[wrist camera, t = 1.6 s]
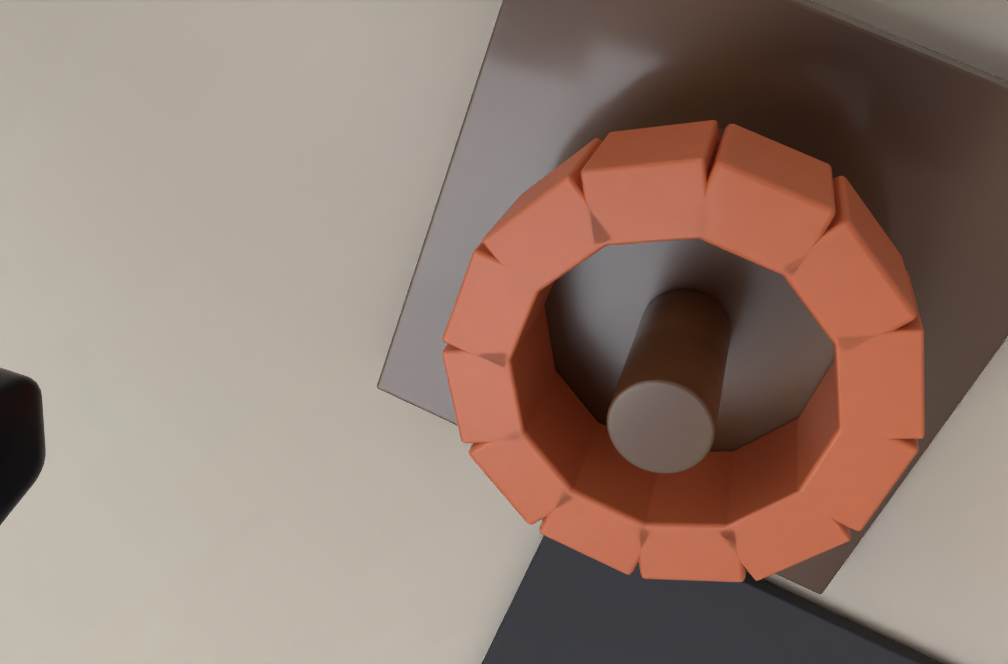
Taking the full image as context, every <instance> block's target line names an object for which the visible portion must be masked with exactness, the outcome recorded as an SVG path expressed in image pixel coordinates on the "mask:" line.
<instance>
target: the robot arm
mask: <svg viewBox="0 0 1008 664" xmlns="http://www.w3.org/2000/svg"><path fill="white" fill-rule="evenodd" d="M45 451H46V450H45V435H44V421H43V406H42V394H41V390H40V388H39V386H38V384H37V383H36V382H35V381H34V380H33V379H31V378H29V377H27V376H24V375H21V374H18V373H15V372H12V371H9V370H6V369H3V368H0V525H1V523H2V522H3V521H4V520H5V518H6V517H7V516H8V515H9V513H10V512H11V511H12V510H13V509H14V507H15V506H16V505H17V504H18V502H19V501H20V500H21V499H22V497H23V496H24V495H25V494H26V492H27V491H28V490H29V489H30V487H31V486H32V485H33V484H34V482H35V481H36V479H37V478H38V476H39V474H40V472H41V470H42V467H43V465H44V460H45Z"/></svg>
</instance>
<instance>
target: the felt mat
mask: <svg viewBox="0 0 1008 664" xmlns="http://www.w3.org/2000/svg"><path fill="white" fill-rule="evenodd" d="M482 664H941V663H939V662H936V661H934V660H932V659H930V658H928V657H926V656H924V655H921V654H919V653H917V652H915V651H913V650H911V649H909V648H907V647H904V646H902V645H900V644H898V643H896V642H894V641H892V640H889V639H887V638H885V637H883V636H881V635H879V634H877V633H874V632H872V631H870V630H868V629H866V628H864V627H862V626H859V625H857V624H855V623H853V622H851V621H849V620H847V619H844V618H842V617H840V616H838V615H836V614H834V613H832V612H829V611H827V610H825V609H823V608H821V607H819V606H817V605H815V604H812V603H810V602H808V601H806V600H804V599H802V598H800V597H797V596H795V595H793V594H791V593H789V592H787V591H785V590H782V589H780V588H778V587H776V586H774V585H772V584H770V583H767V582H765V581H763V580H758V581H756V580H755V579H754V578H753V577H752V575H750V574H748V573H746V577H745V579H744V581H743V582H719V581H692V580H664V579H645V578H642V576H641V573H640V567H639V562H638V564H637V566H636V567H635V569H634V571H633V572H632V573H631V574H630V575H628V574H625V573H623V572H621V571H618V570H616V569H614V568H612V567H610V566H608V565H606V564H604V563H602V562H599V561H597V560H595V559H593V558H591V557H589V556H587V555H585V554H583V553H580V552H578V551H576V550H574V549H572V548H570V547H568V546H566V545H563V544H561V543H559V542H557V541H555V540H553V539H551V538H549V537H547V536H544V537H543V539H542V541H541V543H540V545H539V547H538V549H537V551H536V553H535V555H534V557H533V559H532V561H531V564H530V566H529V568H528V570H527V572H526V574H525V576H524V578H523V580H522V582H521V584H520V586H519V588H518V590H517V592H516V594H515V596H514V598H513V601H512V603H511V605H510V607H509V609H508V611H507V613H506V615H505V617H504V619H503V621H502V623H501V625H500V627H499V629H498V631H497V633H496V635H495V638H494V640H493V642H492V644H491V646H490V648H489V650H488V652H487V654H486V656H485V658H484V660H483V662H482Z"/></svg>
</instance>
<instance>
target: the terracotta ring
mask: <svg viewBox="0 0 1008 664" xmlns="http://www.w3.org/2000/svg"><path fill="white" fill-rule="evenodd" d="M697 238H699V239H701V240H703V241H705V242H708V243H710V244H712V245H715V246H717V247H719V248H721V249H724V250H726V251H728V252H731V253H733V254H735V255H737V256H740V257H742V258H744V259H747V260H749V261H751V262H753V263H756V264H758V265H760V266H763V267H765V268H767V269H769V270H772V271H774V272H776V273H779V274H781V275H783V276H784V278H785V279H786V280H787V282H788V283H789V284H790V286H791V287H792V288H793V290H794V291H795V292H796V294H797V295H798V297H799V298H800V299H801V301H802V302H803V303H804V305H805V306H806V307H807V309H808V310H809V311H810V313H811V314H812V315H813V317H814V318H815V319H816V321H817V322H818V323H819V325H820V326H821V327H822V329H823V330H824V331H825V333H826V334H827V335H828V337H829V338H830V340H831V341H832V342H833V344H834V361H833V363H832V365H831V366H830V368H829V369H828V371H827V373H826V374H825V376H824V377H823V379H822V381H821V382H820V384H819V385H818V387H817V389H816V390H815V392H814V394H813V395H812V397H811V398H810V400H809V402H808V403H807V405H806V406H805V408H804V410H803V411H802V413H801V415H800V416H799V418H797V419H795V420H793V421H791V422H789V423H787V424H786V425H784V426H782V427H780V428H778V429H776V430H774V431H772V432H770V433H768V434H766V435H764V436H762V437H760V438H758V439H756V440H754V441H753V442H751V443H749V444H747V445H745V446H743V447H741V448H739V449H737V450H735V451H720V452H708V454H707V455H706V456H705V457H704V458H703V460H701V461H700V462H699V463H698V464H696V465H694V466H693V467H691V468H689V469H687V470H684V471H680V472H676V473H655V472H650V471H647V470H644V469H641V468H639V467H637V466H635V465H633V464H632V463H630V462H629V461H627V460H626V459H625V458H624V457H623V456H622V455H621V454H620V453H619V452H618V451H617V450H616V448H615V447H614V445H613V443H612V441H611V439H610V437H609V434H608V430H607V426H606V425H603V424H601V423H599V422H597V420H596V419H595V418H594V417H593V416H592V414H591V413H590V412H589V411H588V409H587V408H586V407H585V406H584V404H583V403H582V402H581V401H580V400H579V398H578V397H577V396H576V395H575V393H574V392H573V391H572V390H571V389H570V387H569V386H568V385H567V384H566V382H565V381H564V380H563V379H562V377H561V376H560V375H559V374H558V373H557V371H556V370H555V364H554V358H553V353H552V347H551V341H550V335H549V329H548V324H547V318H546V312H545V306H544V304H545V302H546V300H547V297H548V295H549V292H550V290H551V288H552V285H553V283H554V281H555V280H557V279H558V278H560V277H561V276H563V275H564V274H566V273H567V272H569V271H570V270H571V269H573V268H574V267H576V266H577V265H579V264H580V263H582V262H583V261H585V260H586V259H587V258H589V257H590V256H592V255H593V254H595V253H596V252H598V251H599V250H601V249H602V248H603V247H605V246H607V245H620V244H633V243H645V242H658V241H671V240H684V239H697ZM443 342H445V343H447V345H446V347H445V348H444V349H443V351H442V356H443V361H444V365H445V370H446V374H447V379H448V383H449V388H450V392H451V397H452V401H453V406H454V410H455V414H456V419H457V423H458V428H459V432H460V437H461V441H462V442H463V443H473V444H472V446H471V448H470V450H469V454H470V456H471V457H472V459H473V460H474V461H475V462H476V463H477V464H478V466H479V467H480V468H481V469H482V470H483V471H484V473H485V474H486V475H487V476H488V477H489V478H490V480H491V481H492V482H493V483H494V484H495V486H496V487H497V488H498V489H499V490H500V491H501V493H502V494H503V495H504V496H505V497H506V498H507V500H508V501H509V502H510V503H511V504H512V505H513V507H514V508H515V509H516V510H517V511H518V512H519V514H520V515H521V516H522V517H523V518H524V519H525V521H526V522H527V523H529V524H534V523H536V522H537V521H539V520H541V519H543V518H544V519H543V521H542V524H541V526H540V533H541V534H542V535H544V536H547V537H549V538H551V539H553V540H555V541H557V542H559V543H561V544H563V545H566V546H568V547H570V548H572V549H574V550H576V551H578V552H580V553H583V554H585V555H587V556H589V557H591V558H593V559H595V560H597V561H599V562H602V563H604V564H606V565H608V566H610V567H612V568H614V569H616V570H618V571H621V572H623V573H625V574H628V575H630V574H631V573H632V572H633V571H634V569H635V567H636V566H637V564H638V562H639V567H640V573H641V576H642V578H645V579H664V580H692V581H719V582H743V581H744V579H745V577H746V569H747V571H748V572H749V573H750V574H751V575H752V577H753V578H754V579H755V580H756V581H758V580H761V579H763V578H765V577H768V576H770V575H772V574H775V573H777V572H779V571H781V570H784V569H786V568H788V567H791V566H793V565H795V564H798V563H800V562H802V561H805V560H807V559H809V558H811V557H814V556H816V555H818V554H821V553H823V552H825V551H828V550H830V549H832V548H835V547H837V546H839V545H841V544H844V543H846V542H848V541H850V540H851V532H850V528H852V529H854V530H856V531H861V530H862V529H863V528H864V526H865V525H866V523H867V522H868V521H869V519H870V518H871V516H872V515H873V514H874V512H875V511H876V510H877V508H878V507H879V505H880V504H881V503H882V501H883V500H884V498H885V497H886V496H887V494H888V493H889V491H890V490H891V489H892V487H893V486H894V484H895V483H896V482H897V480H898V479H899V477H900V476H901V475H902V473H903V472H904V470H905V469H906V468H907V466H908V465H909V464H910V462H911V461H912V459H913V458H914V457H915V455H916V454H917V452H918V450H919V446H918V441H917V439H922V438H924V435H925V419H924V330H923V326H922V323H921V319H920V315H919V311H918V307H917V304H916V300H915V296H914V292H913V288H912V285H911V281H910V277H909V273H908V271H906V270H905V266H904V262H903V258H902V256H901V254H900V253H899V252H898V250H897V249H896V247H895V246H894V245H893V243H892V242H891V240H890V239H889V237H888V236H887V235H886V233H885V232H884V230H883V229H882V228H881V226H880V225H879V223H878V222H877V221H876V219H875V218H874V216H873V215H872V214H871V212H870V211H869V209H868V208H867V207H866V205H865V204H864V202H863V201H862V200H861V198H860V197H859V195H858V194H857V193H856V191H855V190H854V188H853V187H852V186H851V184H850V183H849V181H848V180H847V179H846V178H845V177H843V176H838V177H836V178H834V179H833V178H832V168H831V166H830V165H829V164H827V163H825V162H823V161H820V160H818V159H816V158H813V157H811V156H809V155H806V154H804V153H801V152H799V151H797V150H794V149H792V148H790V147H787V146H785V145H783V144H780V143H778V142H776V141H773V140H771V139H768V138H766V137H764V136H761V135H759V134H757V133H754V132H752V131H750V130H747V129H745V128H743V127H740V126H738V125H735V124H729V125H728V126H727V127H726V128H725V130H724V132H723V134H722V136H721V138H720V141H719V130H718V123H717V121H715V120H709V121H701V122H692V123H684V124H675V125H666V126H658V127H649V128H641V129H632V130H624V131H615V132H610V133H609V134H608V135H607V137H606V138H605V139H604V141H603V142H602V141H601V140H600V139H599V138H595V139H594V140H592V141H591V142H590V143H588V144H587V145H586V146H584V147H583V148H582V149H581V150H579V151H578V152H577V153H575V154H574V155H573V156H571V157H570V158H569V159H567V160H566V161H565V162H563V163H562V164H561V165H559V166H558V167H557V168H555V169H554V170H553V171H552V172H550V173H549V174H548V175H546V176H545V177H544V178H542V179H541V180H540V181H538V182H537V183H536V184H534V185H533V186H532V187H530V188H529V189H528V190H527V191H525V192H524V193H523V194H521V195H520V197H519V198H518V199H517V200H516V201H515V202H514V203H513V205H512V206H511V207H510V208H509V209H508V210H507V211H506V213H505V214H504V215H503V216H502V217H501V218H500V219H499V221H498V222H497V223H496V224H495V225H494V226H493V227H492V229H491V230H490V231H489V232H488V233H487V234H486V235H485V237H484V238H483V240H482V242H481V243H480V244H479V246H478V247H477V248H476V249H475V250H474V251H473V254H472V257H471V260H470V262H469V265H468V268H467V271H466V273H465V276H464V279H463V282H462V285H461V287H460V290H459V293H458V296H457V299H456V301H455V304H454V307H453V310H452V312H451V315H450V318H449V321H448V324H447V326H446V329H445V332H444V335H443Z"/></svg>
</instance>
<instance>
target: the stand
mask: <svg viewBox="0 0 1008 664" xmlns="http://www.w3.org/2000/svg"><path fill="white" fill-rule="evenodd" d="M709 120H715V121H717V123H718V130H719V141H720V138H721V136H722V134H723V132H724V130H725V128H726V127H727V126H728V125H729V124H735V125H738V126H740V127H743V128H745V129H747V130H750V131H752V132H754V133H757V134H759V135H761V136H764V137H766V138H768V139H771V140H773V141H776V142H778V143H780V144H783V145H785V146H787V147H790V148H792V149H794V150H797V151H799V152H801V153H804V154H806V155H809V156H811V157H813V158H816V159H818V160H820V161H823V162H825V163H827V164H829V165H830V166H831V168H832V178H833V179H834V178H836V177H838V176H843V177H845V178H846V179H847V180H848V181H849V183H850V184H851V186H852V187H853V188H854V190H855V191H856V193H857V194H858V195H859V197H860V198H861V200H862V201H863V202H864V204H865V205H866V207H867V208H868V209H869V211H870V212H871V214H872V215H873V216H874V218H875V219H876V221H877V222H878V223H879V225H880V226H881V228H882V229H883V230H884V232H885V233H886V235H887V236H888V237H889V239H890V240H891V242H892V243H893V245H894V246H895V247H896V249H897V250H898V252H899V253H900V254H901V256H902V258H903V262H904V266H905V270H906V271H908V273H909V277H910V281H911V285H912V288H913V292H914V296H915V300H916V304H917V307H918V311H919V315H920V319H921V323H922V326H923V330H924V419H925V435H924V438H922V439H917V441H918V446H919V450H918V452H917V454H916V455H915V457H914V458H913V459H912V461H911V462H910V464H909V465H908V466H907V468H906V469H905V470H904V472H903V473H902V475H901V476H900V477H899V479H898V480H897V482H896V483H895V484H894V486H893V487H892V489H891V490H890V491H889V493H888V494H887V496H886V497H885V498H884V500H883V501H882V503H881V504H880V505H879V507H878V508H877V510H876V511H875V512H874V514H873V515H872V516H871V518H870V519H869V521H868V522H867V523H866V525H865V526H864V528H863V529H862V530H861V531H856V530H854V529H852V528H850V532H851V540H850V541H848V542H846V543H844V544H841V545H839V546H837V547H835V548H832V549H830V550H828V551H825V552H823V553H821V554H818V555H816V556H814V557H811V558H809V559H807V560H805V561H802V562H800V563H798V564H795V565H793V566H791V567H788V568H786V569H784V570H781V571H779V572H777V573H775V574H777V575H780V576H782V577H784V578H786V579H788V580H790V581H792V582H795V583H797V584H799V585H801V586H803V587H805V588H807V589H810V590H812V591H814V592H816V593H818V594H822V593H823V591H824V590H825V589H826V587H827V586H828V584H829V583H830V582H831V580H832V579H833V577H834V576H835V575H836V573H837V572H838V571H839V569H840V568H841V566H842V565H843V564H844V562H845V561H846V559H847V558H848V557H849V555H850V554H851V553H852V551H853V550H854V548H855V547H856V546H857V544H858V543H859V541H860V540H861V539H862V537H863V536H864V535H865V533H866V532H867V530H868V529H869V528H870V526H871V525H872V523H873V522H874V521H875V519H876V518H877V517H878V515H879V514H880V512H881V511H882V510H883V508H884V507H885V505H886V504H887V503H888V501H889V500H890V498H891V497H892V496H893V494H894V493H895V492H896V490H897V489H898V487H899V486H900V485H901V483H902V482H903V480H904V479H905V478H906V476H907V475H908V474H909V472H910V471H911V469H912V468H913V467H914V465H915V464H916V462H917V461H918V460H919V458H920V457H921V456H922V454H923V453H924V451H925V450H926V449H927V447H928V446H929V444H930V443H931V442H932V440H933V439H934V438H935V436H936V435H937V433H938V432H939V431H940V429H941V428H942V426H943V425H944V424H945V422H946V421H947V420H948V418H949V417H950V415H951V414H952V413H953V411H954V410H955V408H956V407H957V406H958V404H959V403H960V402H961V400H962V399H963V397H964V396H965V395H966V393H967V392H968V390H969V389H970V388H971V386H972V385H973V384H974V382H975V381H976V379H977V378H978V377H979V375H980V374H981V372H982V371H983V370H984V368H985V367H986V366H987V364H988V363H989V361H990V360H991V359H992V357H993V356H994V354H995V353H996V352H997V350H998V349H999V348H1000V346H1001V345H1002V343H1003V342H1004V341H1005V339H1006V338H1007V336H1008V82H1007V81H1005V80H1003V79H1000V78H998V77H995V76H993V75H990V74H988V73H985V72H983V71H981V70H978V69H976V68H973V67H971V66H968V65H966V64H963V63H961V62H959V61H956V60H954V59H951V58H949V57H946V56H944V55H941V54H939V53H937V52H934V51H932V50H929V49H927V48H924V47H922V46H920V45H917V44H915V43H912V42H910V41H907V40H905V39H902V38H900V37H898V36H895V35H893V34H890V33H888V32H885V31H883V30H880V29H878V28H876V27H873V26H871V25H868V24H866V23H863V22H861V21H858V20H856V19H854V18H851V17H849V16H846V15H844V14H841V13H839V12H836V11H834V10H832V9H829V8H827V7H824V6H822V5H819V4H817V3H814V2H812V1H810V0H503V2H502V5H501V8H500V11H499V14H498V17H497V20H496V23H495V26H494V29H493V32H492V36H491V39H490V42H489V45H488V48H487V51H486V54H485V57H484V60H483V63H482V66H481V69H480V72H479V75H478V78H477V81H476V84H475V88H474V91H473V94H472V97H471V100H470V103H469V106H468V109H467V112H466V115H465V118H464V121H463V124H462V127H461V130H460V133H459V136H458V139H457V143H456V146H455V149H454V152H453V155H452V158H451V161H450V164H449V167H448V170H447V173H446V176H445V179H444V182H443V185H442V188H441V191H440V195H439V198H438V201H437V204H436V207H435V210H434V213H433V216H432V219H431V222H430V225H429V228H428V231H427V234H426V237H425V240H424V243H423V246H422V250H421V253H420V256H419V259H418V262H417V265H416V268H415V271H414V274H413V277H412V280H411V283H410V286H409V289H408V292H407V295H406V298H405V302H404V305H403V308H402V311H401V314H400V317H399V320H398V323H397V326H396V329H395V332H394V335H393V338H392V341H391V344H390V347H389V350H388V353H387V357H386V360H385V363H384V366H383V369H382V372H381V375H380V378H379V381H378V384H377V388H378V389H381V390H383V391H385V392H387V393H389V394H391V395H393V396H396V397H398V398H400V399H402V400H404V401H406V402H408V403H411V404H413V405H415V406H417V407H419V408H421V409H423V410H426V411H428V412H430V413H432V414H434V415H436V416H438V417H441V418H443V419H445V420H447V421H449V422H451V423H453V424H456V425H458V423H457V419H456V414H455V410H454V406H453V401H452V397H451V392H450V388H449V383H448V379H447V374H446V370H445V365H444V361H443V356H442V351H443V349H444V348H445V347H446V345H447V343H445V342H443V335H444V332H445V329H446V326H447V324H448V321H449V318H450V315H451V312H452V310H453V307H454V304H455V301H456V299H457V296H458V293H459V290H460V287H461V285H462V282H463V279H464V276H465V273H466V271H467V268H468V265H469V262H470V260H471V257H472V254H473V251H474V250H475V249H476V248H477V247H478V246H479V244H480V243H481V242H482V240H483V238H484V237H485V235H486V234H487V233H488V232H489V231H490V230H491V229H492V227H493V226H494V225H495V224H496V223H497V222H498V221H499V219H500V218H501V217H502V216H503V215H504V214H505V213H506V211H507V210H508V209H509V208H510V207H511V206H512V205H513V203H514V202H515V201H516V200H517V199H518V198H519V197H520V195H521V194H523V193H524V192H525V191H527V190H528V189H529V188H530V187H532V186H533V185H534V184H536V183H537V182H538V181H540V180H541V179H542V178H544V177H545V176H546V175H548V174H549V173H550V172H552V171H553V170H554V169H555V168H557V167H558V166H559V165H561V164H562V163H563V162H565V161H566V160H567V159H569V158H570V157H571V156H573V155H574V154H575V153H577V152H578V151H579V150H581V149H582V148H583V147H584V146H586V145H587V144H588V143H590V142H591V141H592V140H594V139H595V138H599V139H600V140H601V141H602V142H603V141H604V139H605V138H606V137H607V135H608V134H609V133H610V132H615V131H624V130H632V129H641V128H649V127H658V126H666V125H675V124H684V123H692V122H701V121H709ZM544 306H545V312H546V318H547V324H548V329H549V335H550V341H551V347H552V353H553V358H554V364H555V370H556V371H557V373H558V374H559V375H560V376H561V377H562V379H563V380H564V381H565V382H566V384H567V385H568V386H569V387H570V389H571V390H572V391H573V392H574V393H575V395H576V396H577V397H578V398H579V400H580V401H581V402H582V403H583V404H584V406H585V407H586V408H587V409H588V411H589V412H590V413H591V414H592V416H593V417H594V418H595V419H596V420H597V422H599V423H601V424H603V425H606V426H607V430H608V434H609V437H610V439H611V441H612V443H613V445H614V447H615V448H616V450H617V451H618V452H619V453H620V454H621V455H622V456H623V457H624V458H625V459H626V460H627V461H629V462H630V463H632V464H633V465H635V466H637V467H639V468H641V469H644V470H647V471H650V472H655V473H676V472H680V471H684V470H687V469H689V468H691V467H693V466H694V465H696V464H698V463H699V462H700V461H701V460H703V458H704V457H705V456H706V455H707V454H708V452H720V451H735V450H737V449H739V448H741V447H743V446H745V445H747V444H749V443H751V442H753V441H754V440H756V439H758V438H760V437H762V436H764V435H766V434H768V433H770V432H772V431H774V430H776V429H778V428H780V427H782V426H784V425H786V424H787V423H789V422H791V421H793V420H795V419H797V418H799V416H800V415H801V413H802V411H803V410H804V408H805V406H806V405H807V403H808V402H809V400H810V398H811V397H812V395H813V394H814V392H815V390H816V389H817V387H818V385H819V384H820V382H821V381H822V379H823V377H824V376H825V374H826V373H827V371H828V369H829V368H830V366H831V365H832V363H833V361H834V344H833V342H832V341H831V340H830V338H829V337H828V335H827V334H826V333H825V331H824V330H823V329H822V327H821V326H820V325H819V323H818V322H817V321H816V319H815V318H814V317H813V315H812V314H811V313H810V311H809V310H808V309H807V307H806V306H805V305H804V303H803V302H802V301H801V299H800V298H799V297H798V295H797V294H796V292H795V291H794V290H793V288H792V287H791V286H790V284H789V283H788V282H787V280H786V279H785V278H784V276H783V275H781V274H779V273H776V272H774V271H772V270H769V269H767V268H765V267H763V266H760V265H758V264H756V263H753V262H751V261H749V260H747V259H744V258H742V257H740V256H737V255H735V254H733V253H731V252H728V251H726V250H724V249H721V248H719V247H717V246H715V245H712V244H710V243H708V242H705V241H703V240H701V239H699V238H697V239H684V240H671V241H658V242H645V243H633V244H620V245H607V246H605V247H603V248H602V249H601V250H599V251H598V252H596V253H595V254H593V255H592V256H590V257H589V258H587V259H586V260H585V261H583V262H582V263H580V264H579V265H577V266H576V267H574V268H573V269H571V270H570V271H569V272H567V273H566V274H564V275H563V276H561V277H560V278H558V279H557V280H555V281H554V283H553V285H552V288H551V290H550V292H549V295H548V297H547V300H546V302H545V304H544Z"/></svg>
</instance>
